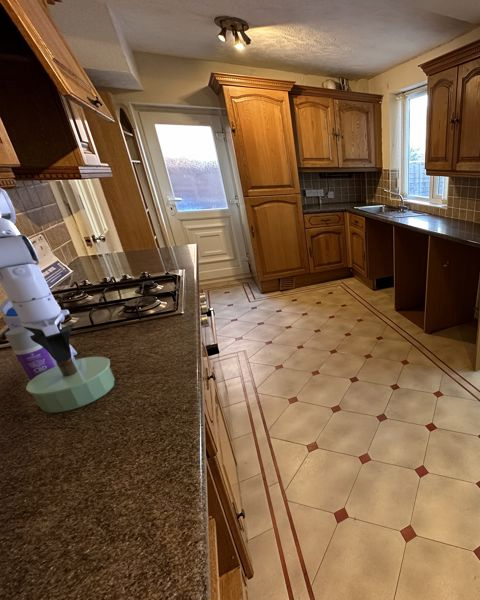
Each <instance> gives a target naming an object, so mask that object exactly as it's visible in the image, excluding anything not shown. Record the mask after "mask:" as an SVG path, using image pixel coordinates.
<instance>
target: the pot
mask: <svg viewBox="0 0 480 600" xmlns="http://www.w3.org/2000/svg"><path fill="white" fill-rule="evenodd" d="M110 367H111V366H109V368H108V369H107V370H106V371H105V372H104V373H103V374H101V375H100V376H98V377H97V378H95V379H93V380H91V381H89V382H87V383H85V384H83V385H80V386H78V387H75V388H72V389H69V390H66V391H62V392H58V393H54V394H47V395H33V394H32V396H33V398H34V400H35V401H36V403H37V405H38V406H39V408H40V410H42V411H43V412H45V413H52V414H54V413H61V412H67V411H71V410H72V411H73V410H75V409H78V408H81V407H83V406H86V405H88V404H90V403H93V402H95V401H97V400H98V399H100V398H102V397H103V396H105V395H106V394H108V393H109V392H110V391H111V390H112V389H113V388H114V386H115V384H116V382H115V380H116V379H115V377H114V375H113V372H112V370H111V368H110Z"/></svg>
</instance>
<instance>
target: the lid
mask: <svg viewBox="0 0 480 600" xmlns="http://www.w3.org/2000/svg"><path fill="white" fill-rule="evenodd" d="M56 363H57V365H58V366H55V367H53V368H51V369H49V370H47V371H45V372H43V373H41V374H39V375H38V376H36V377H35V378H33V379H32V380H31V381H30V380H29V382H27V385H26V387H25V389H26V391H27V393H29V394H30V395H32V396H33V395H47V394H54V393H58V392H62V391H66V390H69V389H72V388H75V387H78V386H80V385H83V384H85V383H87V382H89V381H91V380H93V379H95V378H97V377H98V376H100V375H101V374H103V373H104V372H105V371H106V370H107V369H108V368H109V367H111V361H110V359H109V358H107V357H104V356H88V357H83V358H82V357H81V358H77V359H75V360H72V358H71V359H69V360H66V361H63V362H60V363H58V362H56Z"/></svg>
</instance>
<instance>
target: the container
mask: <svg viewBox="0 0 480 600" xmlns="http://www.w3.org/2000/svg"><path fill="white" fill-rule="evenodd" d="M4 335H5V338H6V339H7V342H8V343H9V346H10V347H11V349H12V351H13V353H14V355H15V356H16V357H15V358H16V359H17V360H18V362H19V363H20V366H21V367H22V369H23V370H24V373H25V374H26V376H27V378H28V379H29V382H30V381H31V380H32V379H33V378H35V377H36V376H38V375H39V374H41V373H43V372H45V371H47V370H49V369H51V368H53V367H55V364H54V362H53V360H52V358H51V356H50V354H49V352H48V351H47V350H46V349H45V348H43V347H42V346H41V345H39V344H37V343H35V342H34V341H32V339H31V337H30V336H32V335H35V334H33V333H32V332H31V331H29V330H27V329H26V328H24V326H23V327H18V328H15V329H12V330H10V329H9V330H8V331H5V332H4Z"/></svg>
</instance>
